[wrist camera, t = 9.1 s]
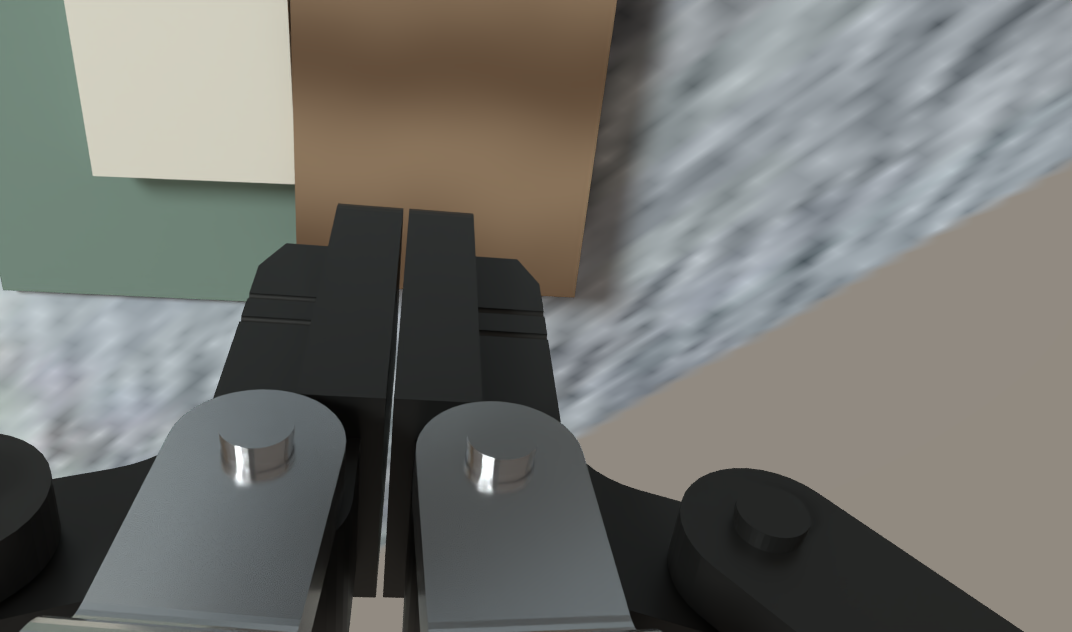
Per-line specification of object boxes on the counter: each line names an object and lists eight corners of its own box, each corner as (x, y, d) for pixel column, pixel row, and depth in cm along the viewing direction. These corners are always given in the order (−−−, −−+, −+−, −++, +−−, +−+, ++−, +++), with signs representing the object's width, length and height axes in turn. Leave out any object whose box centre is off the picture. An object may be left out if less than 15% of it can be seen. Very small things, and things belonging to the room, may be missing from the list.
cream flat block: (52, -204, 25) (30, -199, 24) (287, -184, 26) (278, -179, 25) (108, 155, 30) (92, 175, 29) (302, 164, 31) (296, 184, 30)
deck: (296, -304, 25) (282, -307, 23) (637, -262, 26) (654, -261, 24) (306, 248, 33) (297, 283, 31) (566, 262, 34) (574, 297, 32)
